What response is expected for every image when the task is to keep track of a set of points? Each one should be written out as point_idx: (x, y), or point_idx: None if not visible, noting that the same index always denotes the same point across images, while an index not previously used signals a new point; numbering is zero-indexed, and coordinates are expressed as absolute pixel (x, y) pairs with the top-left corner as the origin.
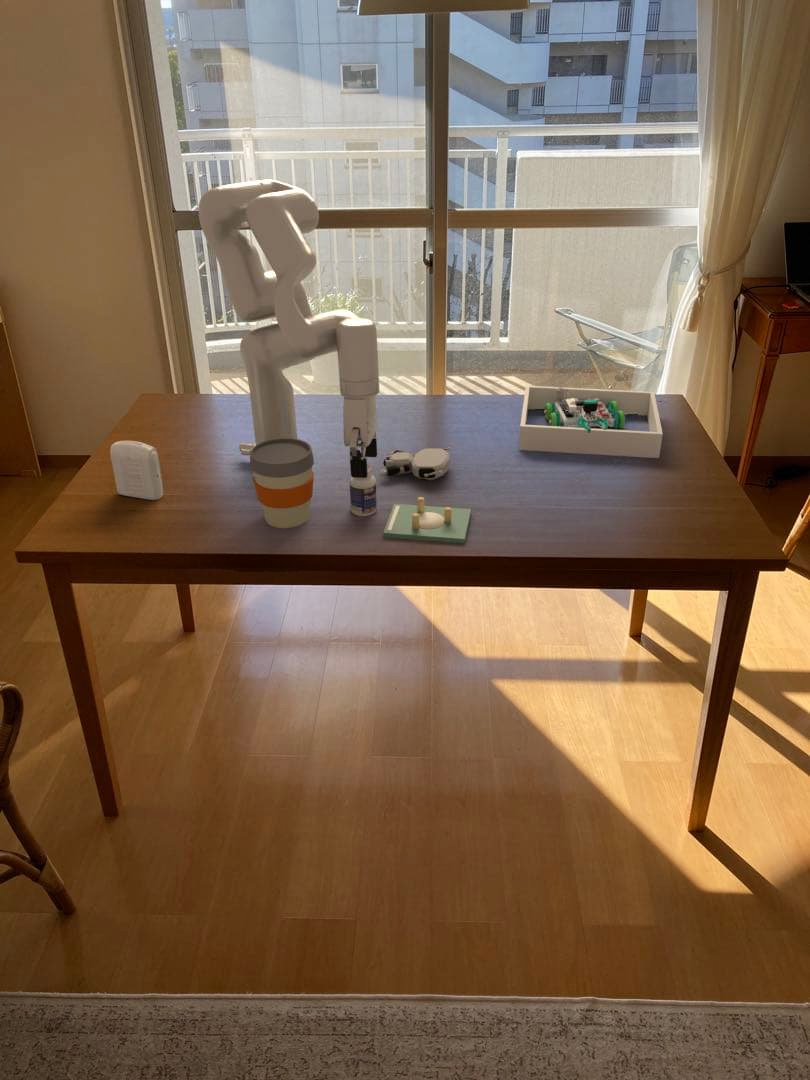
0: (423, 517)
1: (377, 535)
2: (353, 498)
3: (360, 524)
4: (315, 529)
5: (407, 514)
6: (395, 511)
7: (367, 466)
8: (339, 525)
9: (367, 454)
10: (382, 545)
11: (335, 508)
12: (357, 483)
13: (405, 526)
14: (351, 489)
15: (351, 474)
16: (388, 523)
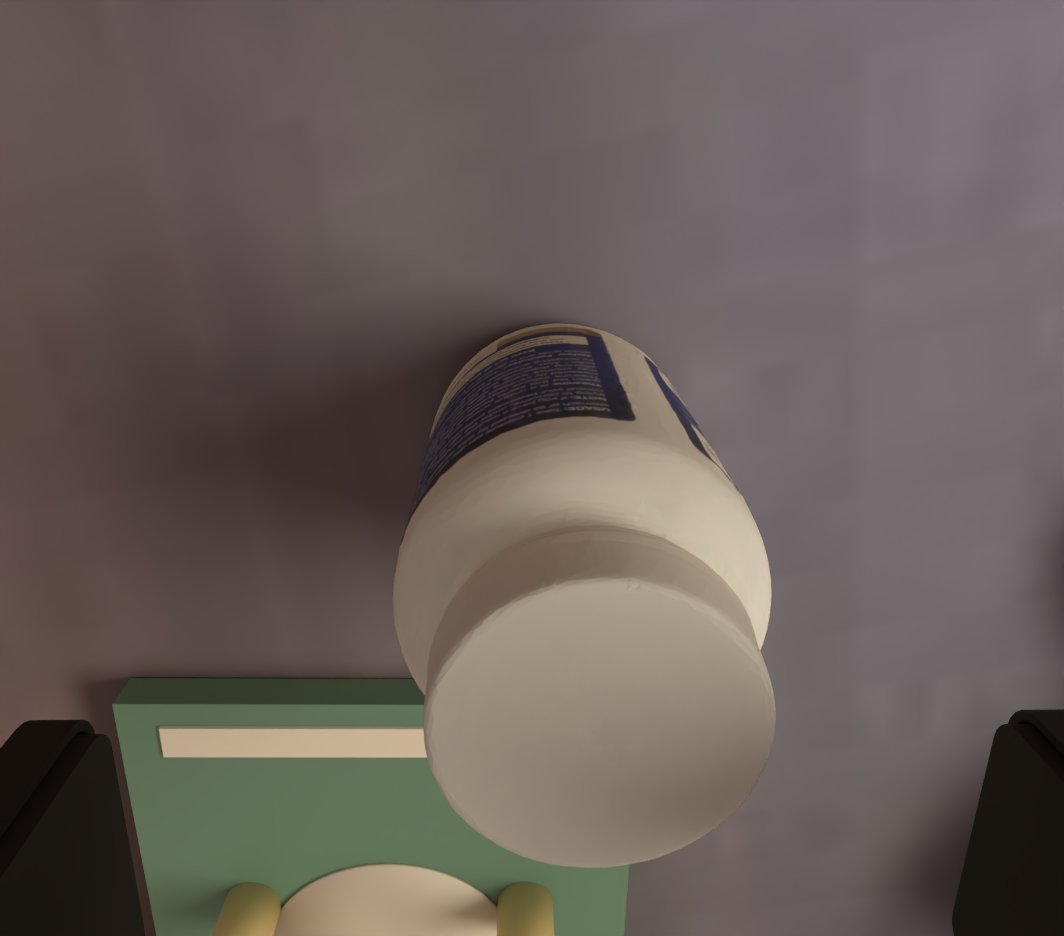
0: (430, 931)
1: (145, 630)
2: (440, 431)
3: (293, 461)
4: (70, 17)
5: (463, 824)
6: None
7: (681, 801)
8: (224, 267)
9: (1006, 842)
10: (4, 690)
11: (570, 141)
12: (411, 591)
13: (262, 838)
14: (454, 446)
15: (5, 754)
16: (277, 718)
